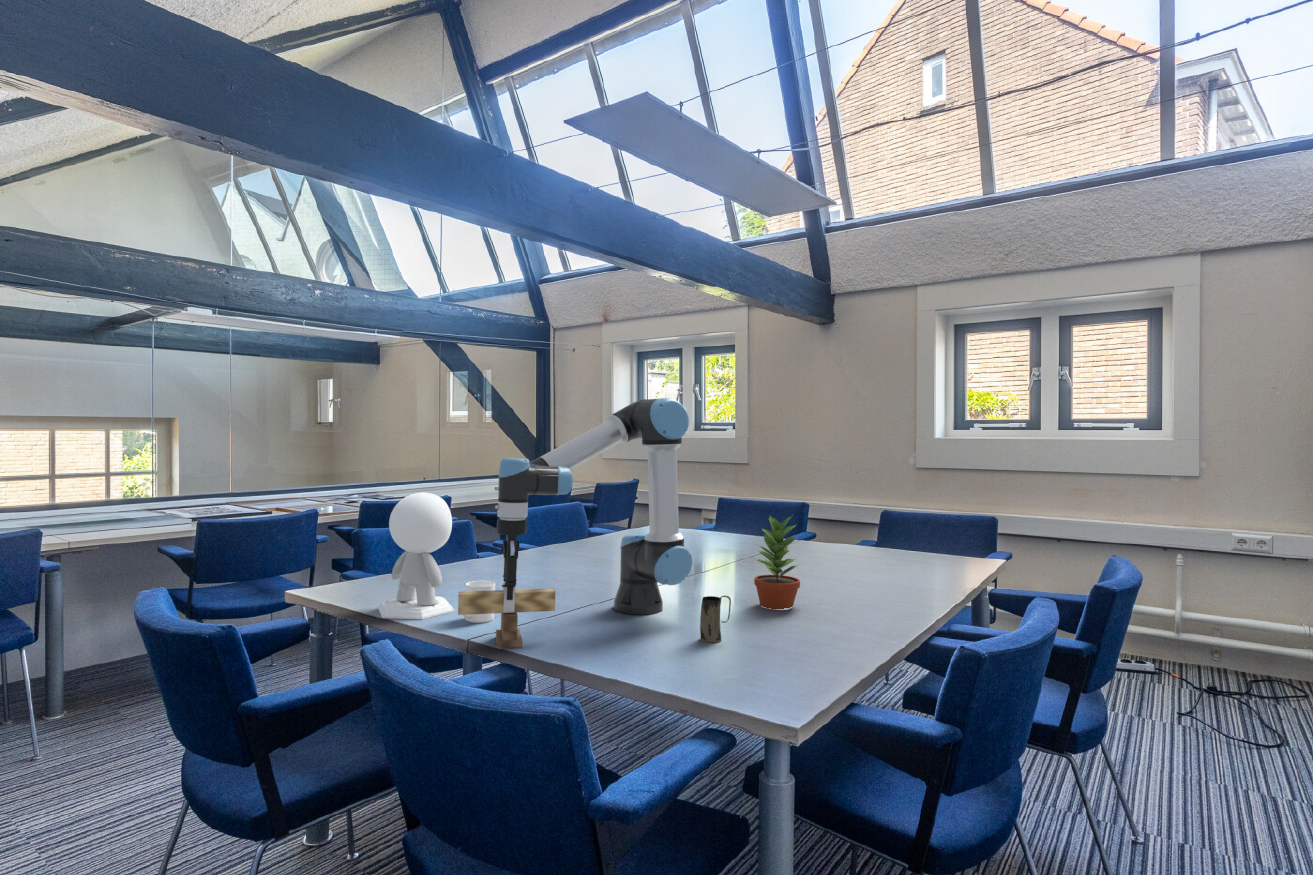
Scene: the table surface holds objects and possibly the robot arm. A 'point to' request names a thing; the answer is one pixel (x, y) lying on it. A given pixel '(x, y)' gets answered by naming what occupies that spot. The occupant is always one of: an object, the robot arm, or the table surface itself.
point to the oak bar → (495, 601)
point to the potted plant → (777, 569)
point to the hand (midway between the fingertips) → (508, 609)
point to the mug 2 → (711, 619)
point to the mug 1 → (479, 587)
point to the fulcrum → (508, 632)
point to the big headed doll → (418, 557)
